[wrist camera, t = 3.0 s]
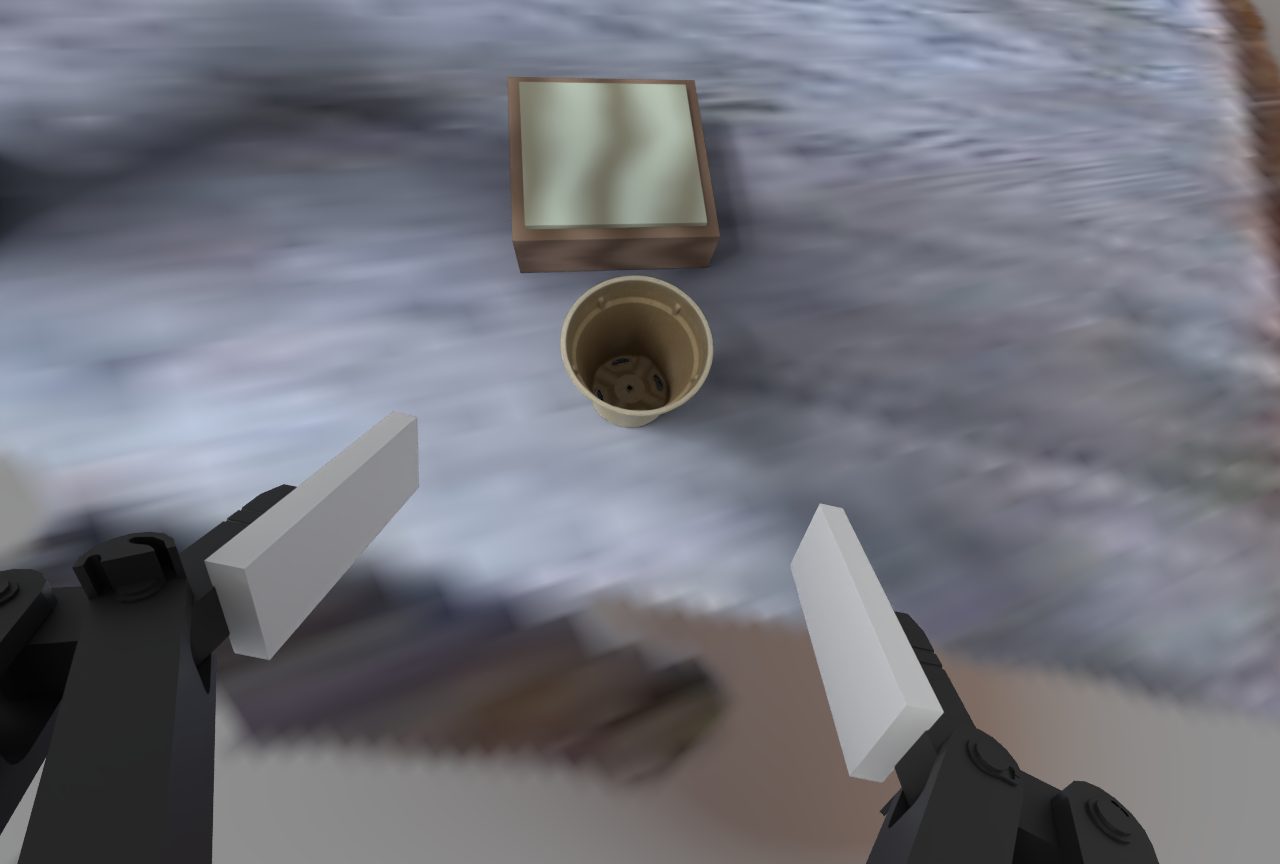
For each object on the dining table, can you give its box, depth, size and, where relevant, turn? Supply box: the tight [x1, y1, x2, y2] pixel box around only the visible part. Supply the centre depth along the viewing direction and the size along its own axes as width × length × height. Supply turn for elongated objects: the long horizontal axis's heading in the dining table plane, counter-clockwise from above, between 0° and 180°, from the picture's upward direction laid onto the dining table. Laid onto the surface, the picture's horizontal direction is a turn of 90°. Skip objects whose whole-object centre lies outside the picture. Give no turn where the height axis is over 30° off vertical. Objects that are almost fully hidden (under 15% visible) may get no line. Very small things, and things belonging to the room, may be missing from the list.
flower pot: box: [561, 275, 713, 427], centre depth 33 cm, size 9×9×9 cm
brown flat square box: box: [507, 77, 720, 273], centre depth 40 cm, size 16×16×4 cm
